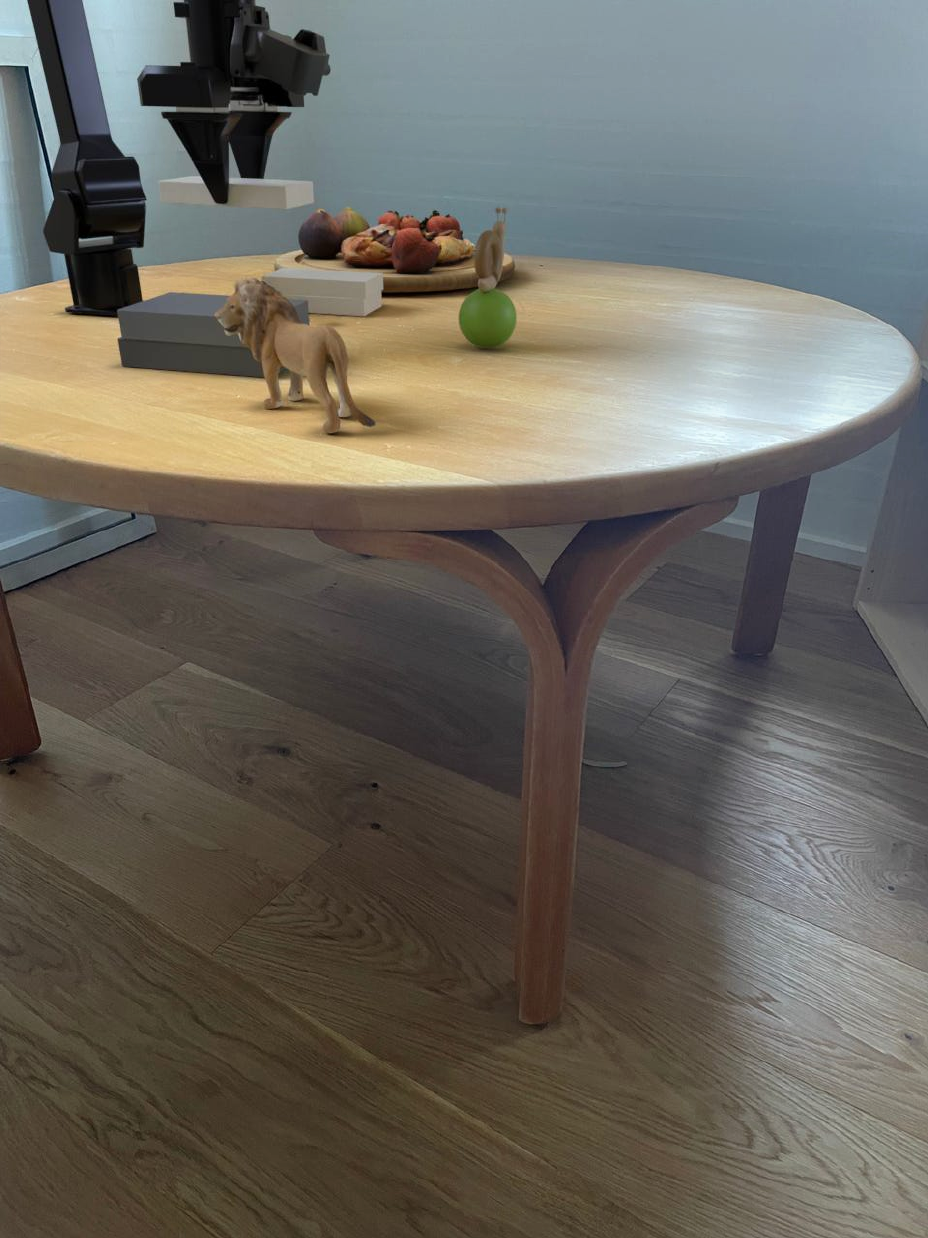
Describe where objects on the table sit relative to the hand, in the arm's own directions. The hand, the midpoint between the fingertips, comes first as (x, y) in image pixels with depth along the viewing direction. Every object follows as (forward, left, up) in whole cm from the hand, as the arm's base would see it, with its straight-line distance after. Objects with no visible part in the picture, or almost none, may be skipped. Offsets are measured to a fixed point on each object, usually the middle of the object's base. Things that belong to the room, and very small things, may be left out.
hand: (238, 200), depth 82 cm
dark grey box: (0, -7, -13) cm, 14 cm away
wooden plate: (+1, +42, -13) cm, 44 cm away
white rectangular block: (0, 0, 0) cm, 0 cm away
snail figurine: (+22, +5, -13) cm, 26 cm away
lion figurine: (+13, -20, -13) cm, 27 cm away
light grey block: (0, +18, -13) cm, 22 cm away
